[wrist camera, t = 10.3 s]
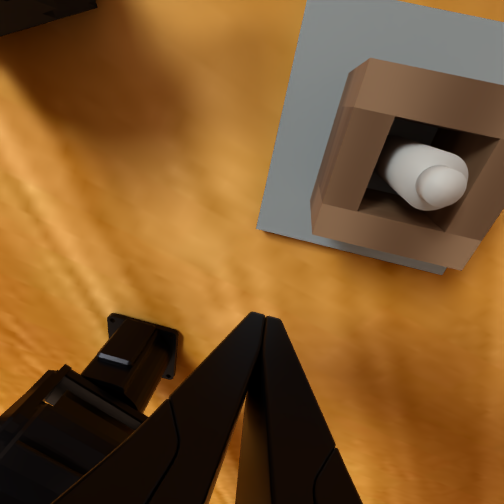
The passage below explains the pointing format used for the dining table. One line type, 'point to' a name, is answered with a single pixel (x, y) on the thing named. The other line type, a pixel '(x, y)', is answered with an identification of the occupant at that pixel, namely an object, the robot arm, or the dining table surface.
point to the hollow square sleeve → (446, 138)
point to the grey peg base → (401, 132)
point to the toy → (37, 12)
